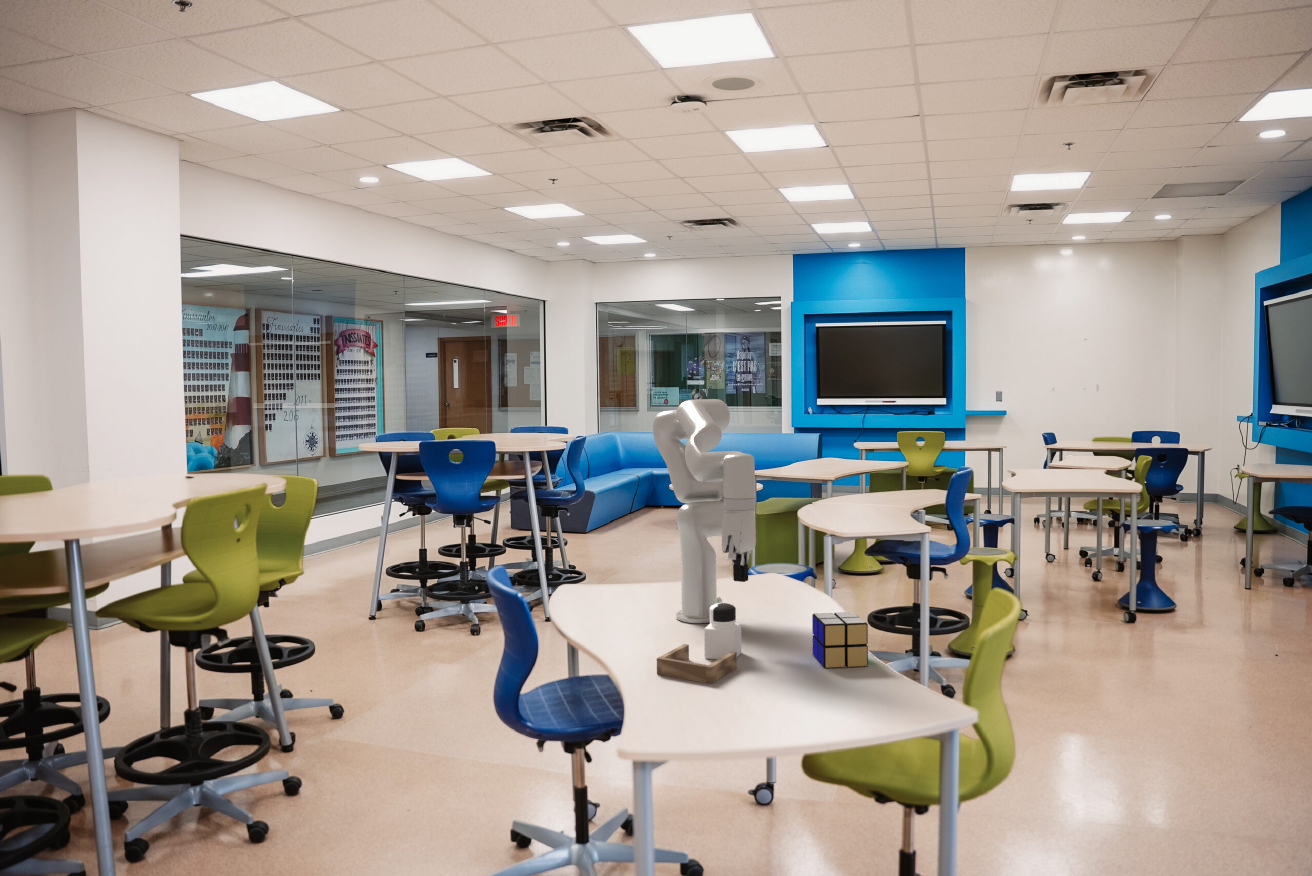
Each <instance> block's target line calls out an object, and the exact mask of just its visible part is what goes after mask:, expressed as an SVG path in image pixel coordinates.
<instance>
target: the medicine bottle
mask: <svg viewBox="0 0 1312 876" xmlns="http://www.w3.org/2000/svg"><path fill="white" fill-rule="evenodd" d="M736 611H737V608H736V606H735V605H733V604H730V603H726V602H722V603H718V604H714V605H712V606H711V607H710V623H709V624H707V626H706V627H704V628H703V629H704V630H703V631H704V633H703V637H704V638H703V639H704V642H703V643H704V659H706V660H715V661H717V660H718V659H720V658H722V657H723V656H725V655H727V654H728V653H730V652H737V658H738V657H739V655H740V654H741V653H742V624H741V622H737V620H736V619H737V618H736V616H737V612H736Z"/></svg>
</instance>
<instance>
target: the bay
mask: <svg viewBox="0 0 1312 876" xmlns="http://www.w3.org/2000/svg"><path fill="white" fill-rule="evenodd" d="M737 659H738V657H737V652H730V653H728V654H727V655H725V656H723V657H722V658H720V659H718V660H715V661H713V662H711V663H710V664H703V663H698V662H691V661H689V660H690V645H689V644H686V643H685V644H681V645H679V646H678V647H675V648H674V649H672V650H670V651H668V652H666V653H664V654H662V655H660V656H658V657H657V658H656V675H661V676H666V677H671V678H677V679H682V680H689V681H693V682H697V683H698V682H699V683H703V684H708V685H709V684H710V685H712V684H713V683H715V682H717V681H718V680H720V679H722V678H723V677H724V676H726V675H727V674H730V673H731V672H733V671H734V670H735V669H737V668H738V666H737V665H738V663H737Z"/></svg>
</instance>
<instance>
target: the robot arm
mask: <svg viewBox="0 0 1312 876" xmlns="http://www.w3.org/2000/svg"><path fill="white" fill-rule="evenodd" d="M730 420H731V413H730V409H729V407H728V405H727V403H726V402H725V401H723V400H722V399H720V398H719V399H718V398H717V399H715V398H712V399H711V398H709V399H708V398H707V399H701V398H700V399H687V400H685V401H683V402H681V403H680V404H679V405H678V407H677V408H676V409H671V410H664V411H661V412H659V413H657V414H656V415H655V417H654V418H653V420H652V434H653V439H654V443H655V446H656V448H657V450H658V451H659V454H660V455H661V456H662V459H663V460H664V462H665V465H666V467H667V471H668V475H669V478H670V479H669V480H670V482H671V485H672V489H673V492H674V495H675V497H676V500H678V501H679V502H680V503H682V504H683V505H682V506H681V507H679V509H678V510H677V513H676V524H677V529H678V535H679V536H678V537H679V543H680V544H679V545H680V565H681V566H680V572H681V573H680V575H681V579H680V580H681V610H679V611H677V612H676V613H675V615H676V617H675V619H677V621H678V620H679V621H681V622H684V623H689V624H708V623H709V624H710V607H711V606H712V605H714V604H718V603H723V599H722V598H721V597H720V596H719V597H717V595H718V594H717V592H718V591H717V553H716V551H715V548H714V547H713V546H712V544H711V543H710V542H709V540H708V539H707V538H711V537H718V536H719V537H721V551H722V553H723V554H728V555H727V557H728V560H731V563H732V571H733V572H732V574H733V576H732V579H733V581H734V582H740V583H741V582H742V583H745V582H748V581H749V562H750V555H751V554H753V550H754V549H755V548H756V545H757V544H756V543H757V532H756V531H757V530H756V529H757V528H756V518H755V517H756V516H755V512H756V483H755V482H756V478H755V477H756V476H755V475H756V473H755V471H756V470H755V457H754V456H753V454H750V453H743V452H742V451H738V450H731V451H727V450H726V451H713V449H715V448H716V447H717V446H719V444H720V442H721V440H722V436H723V433H722V432H723V431H725V429H726V428H727V427H728V426H729V423H730ZM681 440H687V442H686V444H685V443H683V442H681ZM711 450H712V451H711Z"/></svg>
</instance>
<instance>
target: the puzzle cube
mask: <svg viewBox="0 0 1312 876" xmlns="http://www.w3.org/2000/svg"><path fill="white" fill-rule="evenodd" d="M811 622H812V623H811V624H812V627H811V629H812V656H813V657H814V658H815V659H816V660H817V661H818V662H819V664H820V665H821V666H822V667H823V668H824V669H841V668H842V669H843V668H844V669H845V668H866V667H865V666H867V667H869V666H868V665H869V649H868V647H869V646H868V644H869V643H868V642H869V641H868V640H869V638H868V637H869V636H868V635H869V634H868V633H869V630H868V629H869V628H868V627H869V626H868V625H869V623H867V622H866V621H865V620H864V619H863V618H862V617H860V616H859V615H858V614H856V613H855V612H854V611H845V612H844V611H843V612H842V611H838V612H834V613H833V612H817V613H812V620H811ZM863 666H864V667H863Z"/></svg>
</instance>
